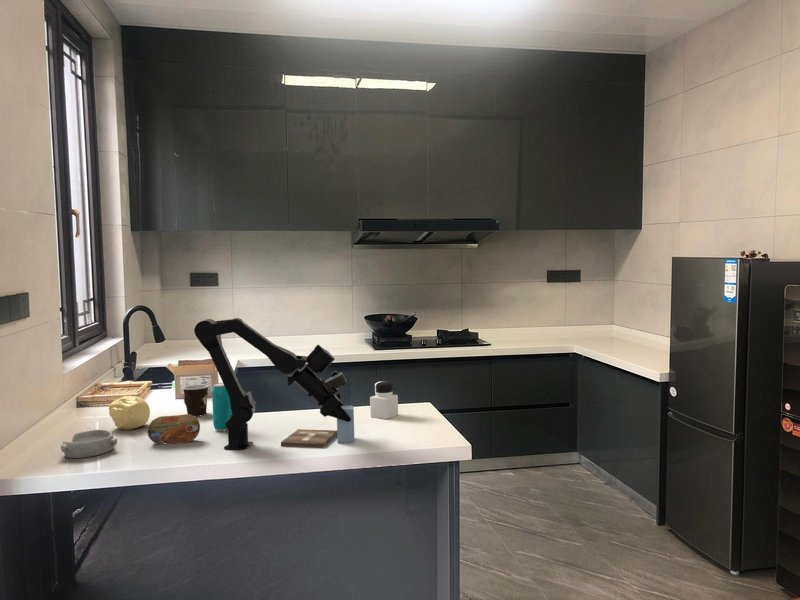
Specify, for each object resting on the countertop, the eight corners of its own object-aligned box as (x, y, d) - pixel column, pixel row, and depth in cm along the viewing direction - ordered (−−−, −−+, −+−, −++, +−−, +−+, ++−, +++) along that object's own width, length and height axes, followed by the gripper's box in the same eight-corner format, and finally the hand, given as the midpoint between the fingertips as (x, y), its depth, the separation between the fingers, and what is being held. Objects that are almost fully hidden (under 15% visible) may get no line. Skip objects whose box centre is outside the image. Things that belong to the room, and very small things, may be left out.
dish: (60, 462, 172) (59, 444, 172) (65, 449, 185) (64, 432, 184) (117, 455, 178) (116, 438, 177) (118, 442, 190) (117, 426, 190)
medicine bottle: (398, 415, 215) (397, 381, 215) (387, 419, 209) (386, 384, 209) (381, 412, 219) (380, 379, 218) (370, 417, 213) (369, 382, 212)
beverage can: (225, 426, 206) (223, 381, 205) (235, 428, 202) (233, 383, 201) (210, 430, 201) (208, 384, 200) (220, 432, 198) (218, 386, 197)
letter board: (323, 447, 179) (322, 443, 179) (281, 446, 182) (280, 441, 182) (337, 434, 193) (337, 430, 193) (298, 432, 195) (298, 429, 195)
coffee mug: (199, 410, 229) (198, 383, 229) (214, 413, 224) (213, 386, 224) (172, 417, 220) (170, 389, 219) (186, 420, 215) (185, 392, 214)
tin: (148, 445, 186) (146, 418, 185) (150, 442, 189) (148, 415, 188) (200, 441, 189) (198, 414, 188) (201, 438, 192) (200, 412, 191)
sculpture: (104, 430, 205) (102, 397, 204) (134, 421, 215) (133, 390, 215) (127, 433, 200) (125, 400, 199) (157, 424, 210) (156, 393, 209)
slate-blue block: (337, 443, 183) (336, 410, 183) (337, 438, 188) (336, 406, 188) (354, 442, 184) (353, 409, 183) (353, 437, 189) (352, 405, 188)
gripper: (330, 369, 175) (370, 406, 177) (330, 359, 193) (366, 392, 195) (303, 398, 174) (343, 434, 176) (305, 385, 193) (342, 418, 195)
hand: (349, 418), depth 186 cm, fingers closed on slate-blue block, 5 cm apart
